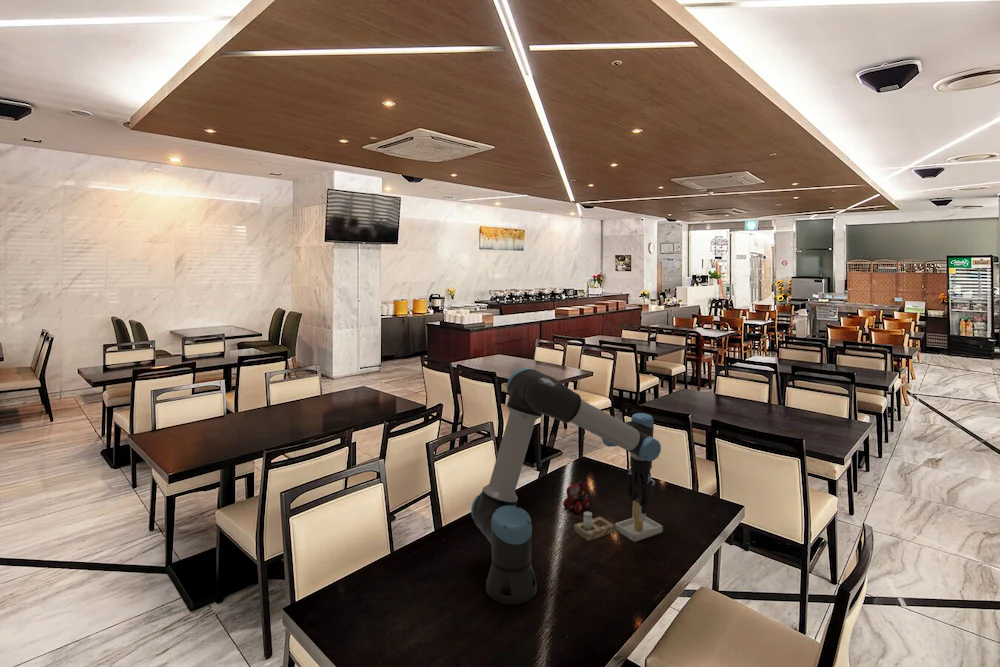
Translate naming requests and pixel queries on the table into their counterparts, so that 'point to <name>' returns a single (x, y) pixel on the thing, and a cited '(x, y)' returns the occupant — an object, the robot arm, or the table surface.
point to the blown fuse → (637, 514)
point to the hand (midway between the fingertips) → (638, 518)
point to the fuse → (587, 521)
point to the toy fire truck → (577, 497)
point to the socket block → (595, 529)
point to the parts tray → (638, 534)
